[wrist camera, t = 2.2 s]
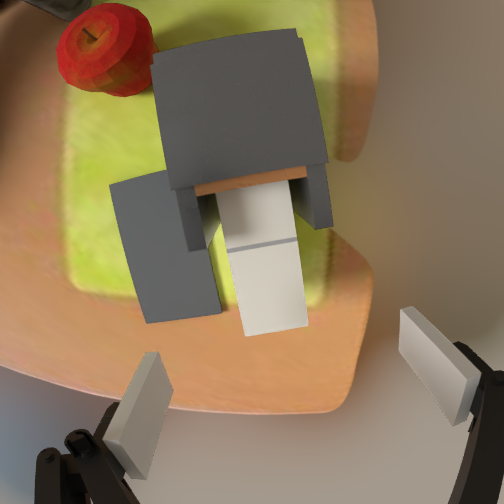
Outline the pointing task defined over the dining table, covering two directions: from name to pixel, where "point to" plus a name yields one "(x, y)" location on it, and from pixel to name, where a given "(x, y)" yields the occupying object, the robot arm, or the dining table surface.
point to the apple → (108, 50)
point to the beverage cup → (62, 7)
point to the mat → (162, 252)
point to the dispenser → (240, 126)
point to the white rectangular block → (264, 257)
